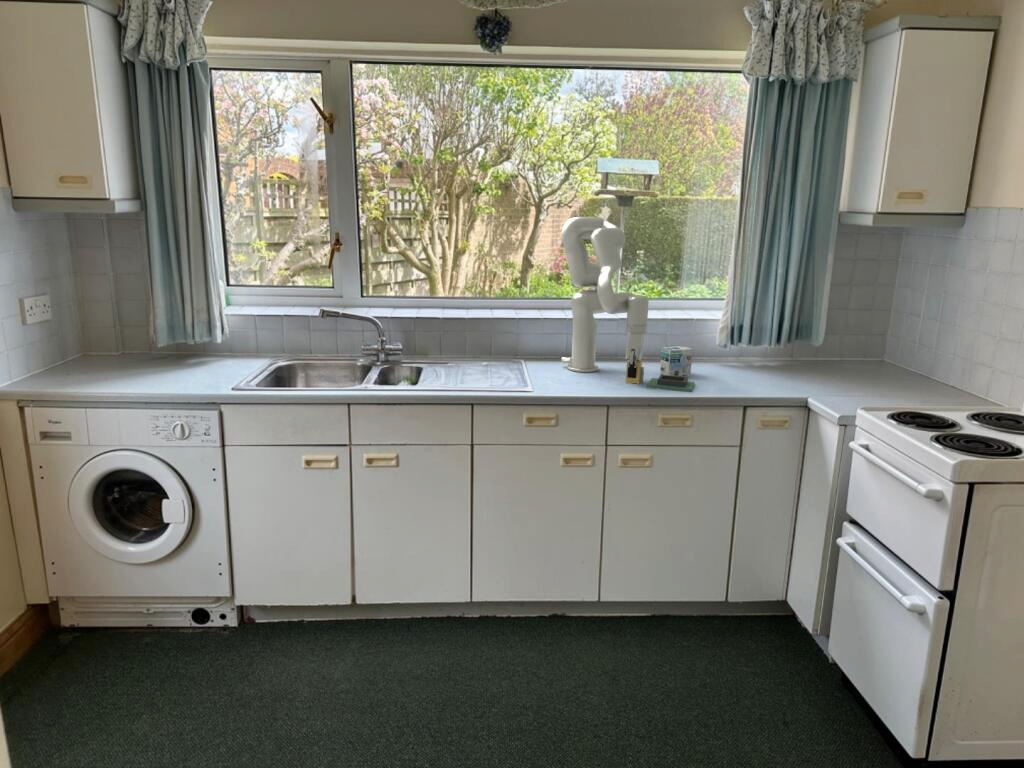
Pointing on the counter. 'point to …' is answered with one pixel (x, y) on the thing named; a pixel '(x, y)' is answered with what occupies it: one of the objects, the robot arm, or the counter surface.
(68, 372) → the counter surface
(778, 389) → the counter surface
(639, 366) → the keyed plug
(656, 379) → the header board
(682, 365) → the light bulb box
